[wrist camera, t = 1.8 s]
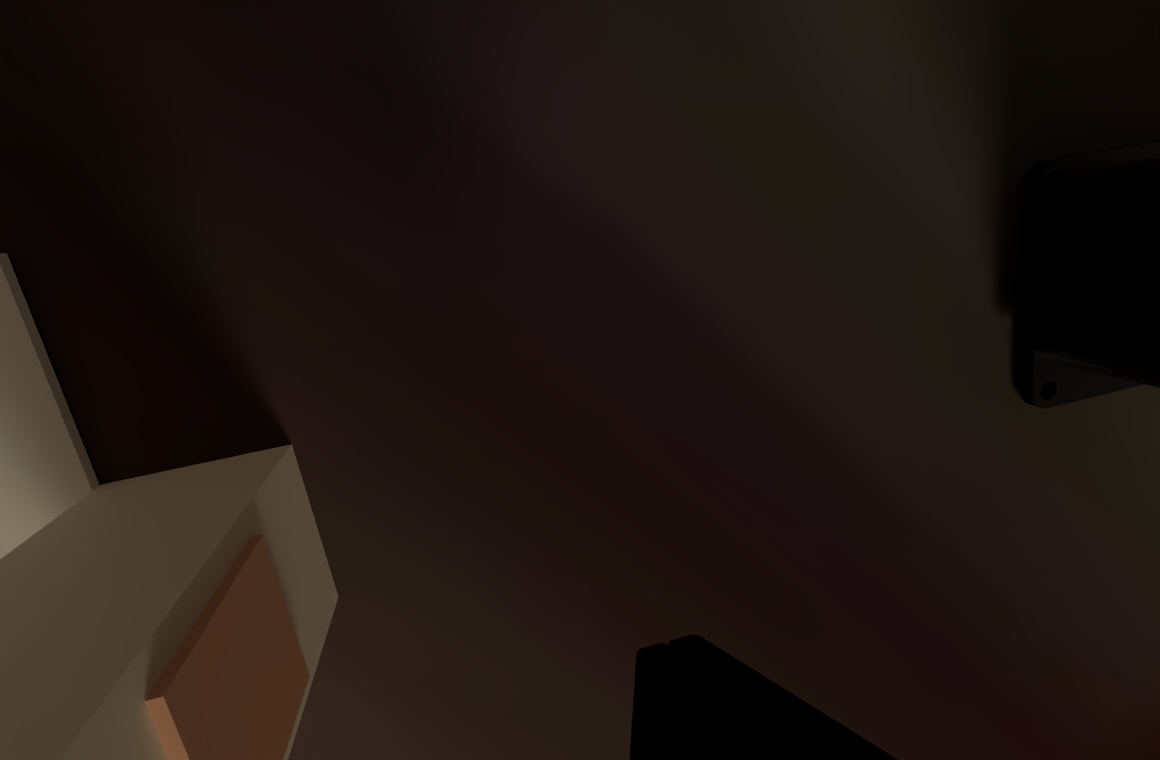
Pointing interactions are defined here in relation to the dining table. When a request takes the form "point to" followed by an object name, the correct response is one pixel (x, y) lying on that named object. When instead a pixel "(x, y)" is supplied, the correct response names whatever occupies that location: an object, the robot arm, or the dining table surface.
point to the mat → (33, 427)
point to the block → (167, 618)
